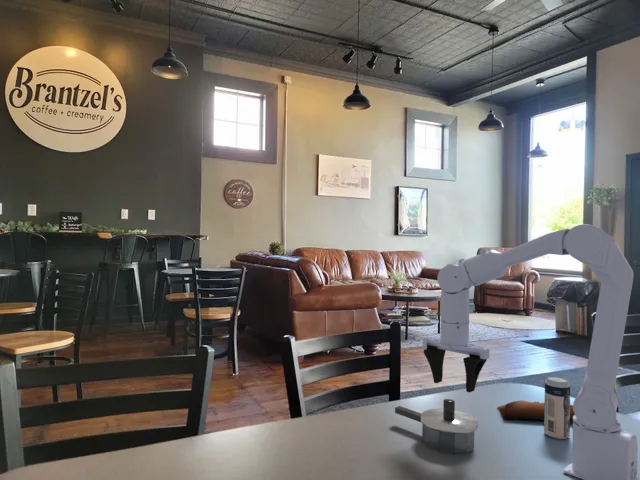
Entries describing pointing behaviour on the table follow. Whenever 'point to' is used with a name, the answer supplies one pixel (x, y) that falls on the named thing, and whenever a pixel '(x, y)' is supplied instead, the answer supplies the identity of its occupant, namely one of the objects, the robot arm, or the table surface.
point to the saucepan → (440, 436)
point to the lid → (449, 419)
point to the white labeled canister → (557, 408)
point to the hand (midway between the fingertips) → (453, 386)
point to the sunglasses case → (526, 410)
